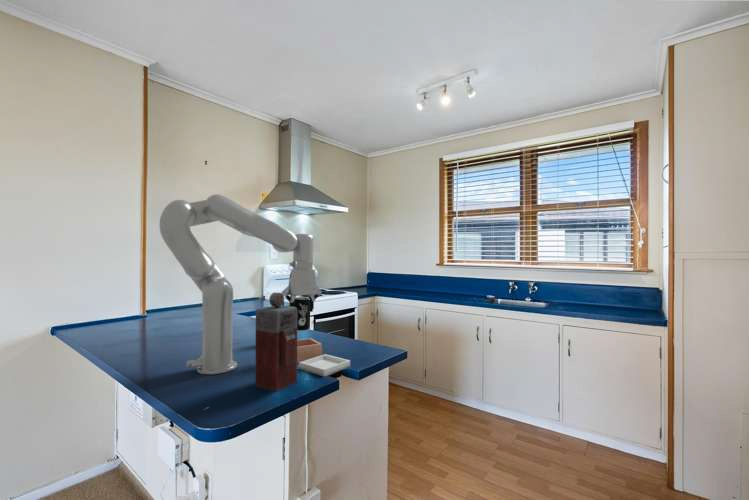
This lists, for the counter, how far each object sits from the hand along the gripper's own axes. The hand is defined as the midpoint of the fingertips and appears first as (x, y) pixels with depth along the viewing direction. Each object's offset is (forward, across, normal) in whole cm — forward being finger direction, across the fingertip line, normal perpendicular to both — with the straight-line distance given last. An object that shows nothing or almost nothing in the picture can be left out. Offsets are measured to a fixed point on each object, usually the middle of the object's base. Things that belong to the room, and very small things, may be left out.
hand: (301, 311), depth 133 cm
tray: (+18, +3, -16) cm, 24 cm away
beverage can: (+7, 0, 0) cm, 7 cm away
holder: (+18, +1, 0) cm, 18 cm away
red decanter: (+18, -15, -23) cm, 33 cm away
